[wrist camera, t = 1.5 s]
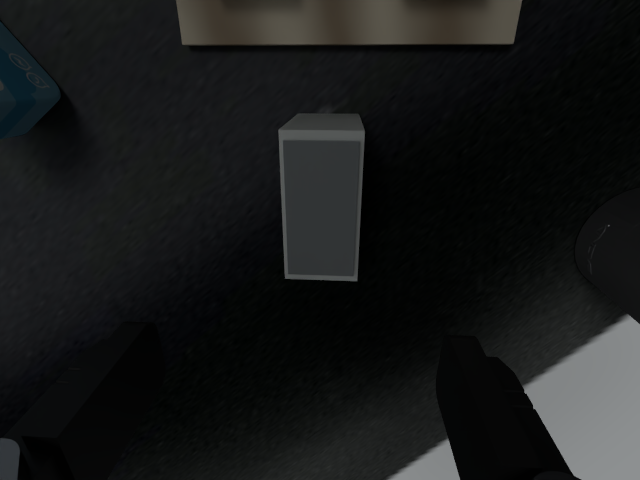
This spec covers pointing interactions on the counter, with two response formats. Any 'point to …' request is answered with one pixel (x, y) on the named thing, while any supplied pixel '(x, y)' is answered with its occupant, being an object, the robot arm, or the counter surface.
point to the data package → (22, 88)
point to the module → (321, 195)
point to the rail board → (347, 22)
